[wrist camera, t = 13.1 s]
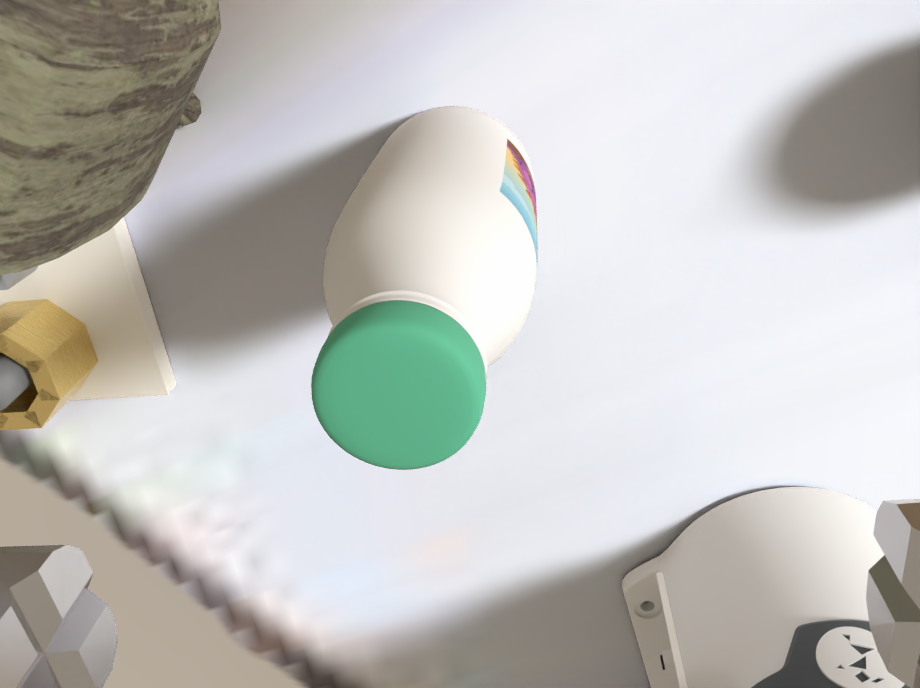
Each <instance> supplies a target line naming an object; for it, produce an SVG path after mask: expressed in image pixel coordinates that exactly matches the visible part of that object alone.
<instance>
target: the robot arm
mask: <svg viewBox="0 0 920 688" xmlns="http://www.w3.org/2000/svg"><path fill="white" fill-rule="evenodd" d="M92 575H93V571H92V569H91V567H90V565H89V563H88V561H87V559H86V557H85V555H84V554H83V552H82V550H81V549H78V548H75V547H72V546H68V545H51V546H50V545H49V546H14V547H0V688H102V687H103V685H104V683H105V682H106V680H107V678H108V676H109V674H110V672H111V670H112V667H113V662H114V657H115V652H116V647H117V634H116V626H115V620H114V618H113V615H112V613H111V611H110V608H109V606H108V604H107V603H106V602H105V601H103V600H102V599H101V598H99V597H98V596H97V595H95V594H94V593H93V592H91V591H90V590H88V589H87V588H88V586H89V583H90V580H91V578H92ZM622 589H623V593H624V596H625V600H626V603H627V607H628V610H629V614H630V617H631V620H632V624H633V627H634V631H635V634H636V638H637V641H638V645H639V648H640V651H641V655H642V658H643V662H644V665H645V669H646V672H647V676H648V679H649V683H650V686H651V688H920V499H908V500H891V501H883V502H882V504H881V506H880V507H879V509H878V511H877V510H876V509H875V508H873V507H872V506H870V505H869V504H867V503H865V502H863V501H861V500H859V499H857V498H854V497H852V496H849V495H846V494H843V493H840V492H836V491H832V490H827V489H820V488H811V487H784V488H774V489H768V490H762V491H758V492H753V493H750V494H746V495H743V496H740V497H737V498H734V499H732V500H730V501H727V502H725V503H723V504H721V505H719V506H717V507H715V508H713V509H711V510H710V511H708V512H706V513H705V514H703V515H702V516H700V517H699V518H698V519H696V520H695V521H694V522H693V523H691V524H690V525H689V526H688V527H687V528H686V529H685V530H684V531H683V532H682V533H681V534H680V535H679V536H678V537H677V539H676V540H675V541H674V542H673V543H672V544H671V545H670V546H669V548H667V549H666V550H665V551H664V552H663V553H662V554H661V555H660V556H658V557H656V558H653V559H651V560H650V561H648V562H646V563H644V564H642V565H640V566H638V567H636V568H635V569H633V570H632V571H630V572H629V573H628V574H627V575H626V576H625V577H624V578H623V581H622ZM645 601H650V602H646V603H645Z"/></svg>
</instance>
